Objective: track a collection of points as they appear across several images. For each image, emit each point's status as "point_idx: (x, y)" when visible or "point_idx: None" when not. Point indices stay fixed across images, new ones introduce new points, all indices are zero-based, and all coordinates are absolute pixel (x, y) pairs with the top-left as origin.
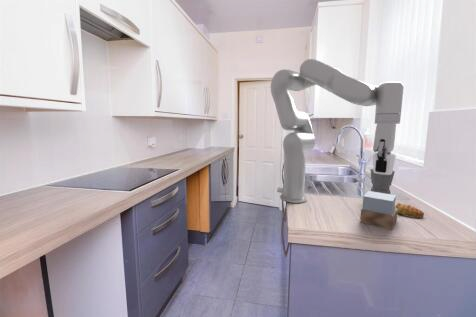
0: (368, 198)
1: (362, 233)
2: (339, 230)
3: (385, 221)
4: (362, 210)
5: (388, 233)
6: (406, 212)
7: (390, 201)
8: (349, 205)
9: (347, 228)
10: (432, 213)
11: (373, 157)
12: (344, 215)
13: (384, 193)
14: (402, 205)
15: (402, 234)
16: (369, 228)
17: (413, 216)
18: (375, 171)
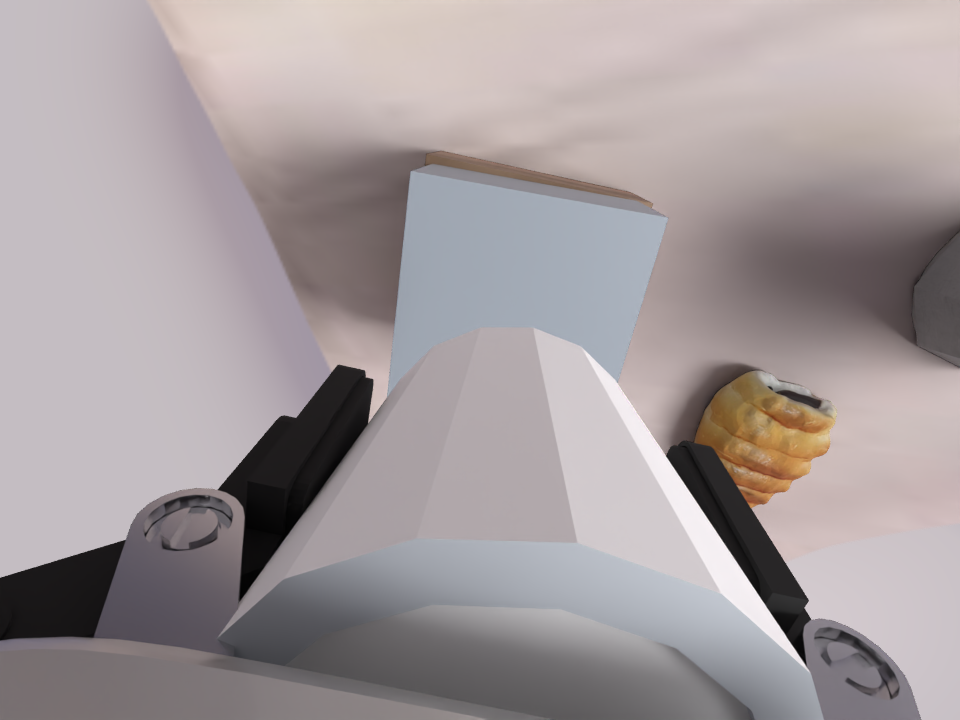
0: (408, 218)
1: (254, 173)
2: (202, 23)
3: None
4: (426, 165)
5: (347, 307)
6: (702, 434)
7: (390, 381)
8: (829, 36)
9: (271, 74)
10: (805, 549)
11: (433, 460)
12: (523, 21)
13: (621, 358)
14: (776, 435)
15: (376, 369)
16: (359, 212)
17: None
18: (419, 362)
